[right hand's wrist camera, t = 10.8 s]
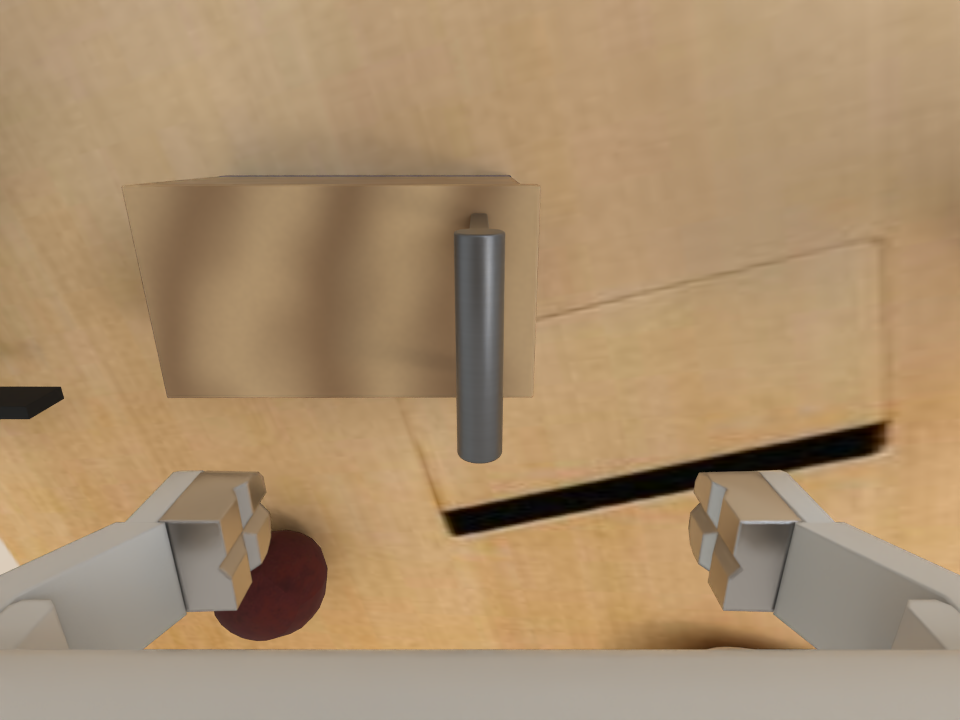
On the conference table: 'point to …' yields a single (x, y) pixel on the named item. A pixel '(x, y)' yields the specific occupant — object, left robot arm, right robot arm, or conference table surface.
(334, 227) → the lid
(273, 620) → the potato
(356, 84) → the conference table surface
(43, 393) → the left robot arm
